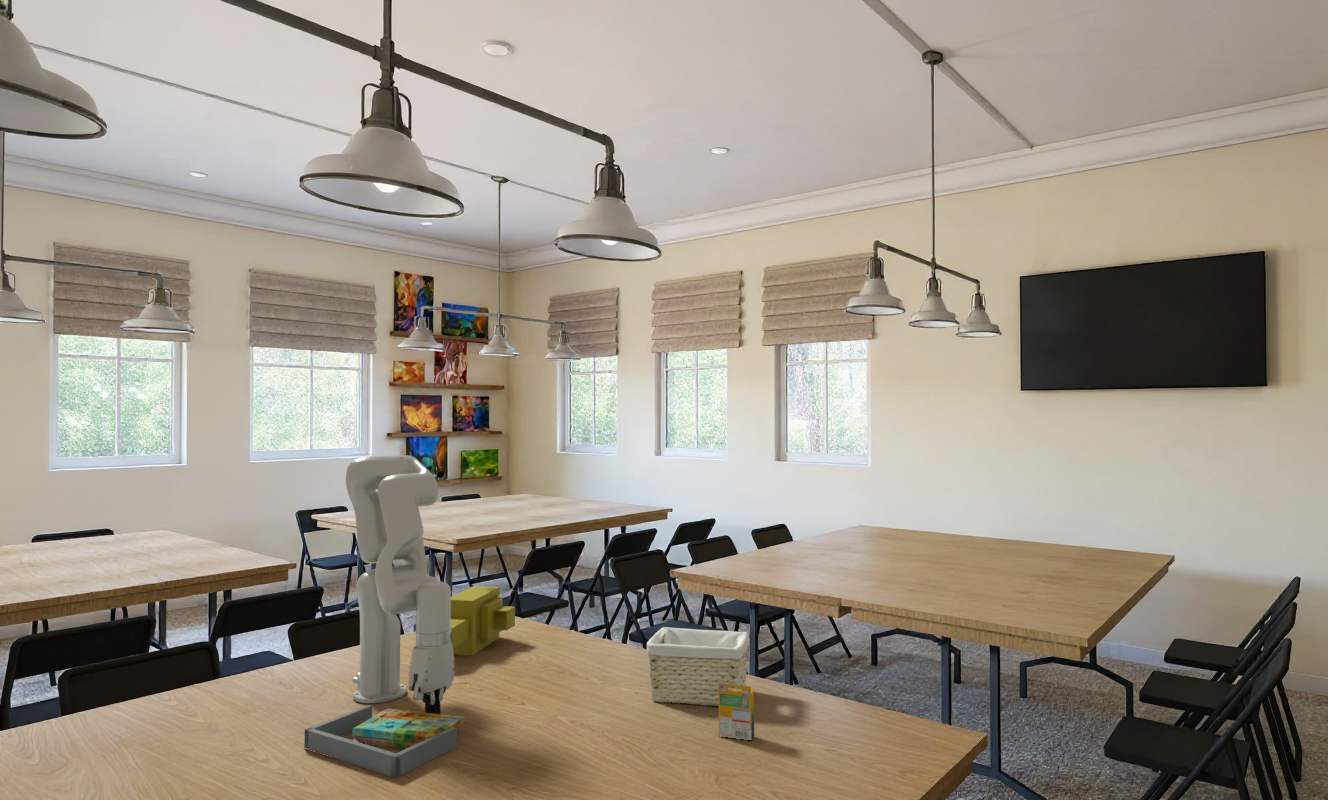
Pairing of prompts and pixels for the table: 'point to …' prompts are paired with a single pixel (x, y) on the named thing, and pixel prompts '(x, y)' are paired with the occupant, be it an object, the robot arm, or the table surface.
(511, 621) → the toy blocks
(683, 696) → the storage basket
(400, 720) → the puzzle game
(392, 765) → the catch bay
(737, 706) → the crayon box
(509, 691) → the table surface
